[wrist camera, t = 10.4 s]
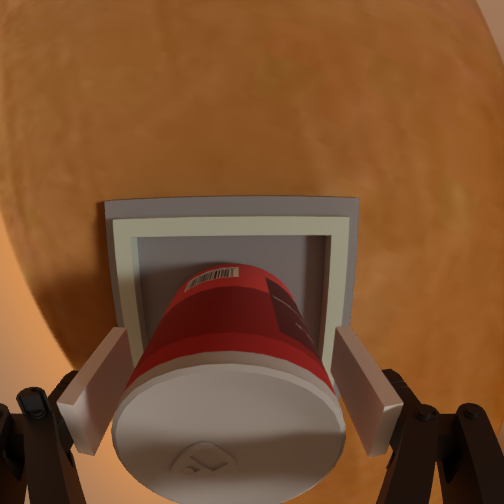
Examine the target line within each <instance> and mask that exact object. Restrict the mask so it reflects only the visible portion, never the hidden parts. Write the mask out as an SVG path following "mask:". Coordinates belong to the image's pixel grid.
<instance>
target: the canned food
mask: <svg viewBox="0 0 504 504" xmlns="http://www.w3.org/2000/svg"><path fill="white" fill-rule="evenodd" d="M111 433H112V441H113V446H114V449H115V451H116V454H117V456H118V458H119V460H120V461H121V463H122V464H123V466H124V467H125V468H126V470H127V471H128V472H129V473H130V474H131V475H132V476H133V477H134V478H135V479H136V480H137V481H138V482H139V483H141V484H142V485H144V486H145V487H147V488H148V489H150V490H151V491H152V492H154V493H156V494H158V495H160V496H162V497H164V498H166V499H168V500H171V501H174V502H177V503H180V504H280V503H282V502H285V501H288V500H290V499H293V498H295V497H297V496H299V495H301V494H302V493H304V492H306V491H308V490H309V489H311V488H312V487H314V486H315V485H316V484H317V483H319V482H320V481H321V480H322V479H324V478H325V477H326V476H327V474H328V473H329V472H330V471H331V470H332V469H333V468H334V466H335V465H336V463H337V461H338V459H339V458H340V456H341V454H342V452H343V448H344V444H345V440H346V432H345V422H344V420H343V412H342V410H341V407H340V405H339V402H338V400H337V397H336V394H335V391H334V389H333V386H332V384H331V381H330V379H329V377H328V374H327V372H326V370H325V368H324V365H323V363H322V361H321V359H320V356H319V354H318V352H317V350H316V347H315V345H314V343H313V341H312V338H311V336H310V334H309V332H308V329H307V327H306V325H305V323H304V321H303V318H302V316H301V314H300V312H299V310H298V307H297V305H296V303H295V301H294V299H293V296H292V294H291V293H290V292H289V290H288V289H287V287H286V286H285V285H284V284H283V283H282V282H281V281H280V280H279V279H278V278H277V277H275V276H274V275H272V274H271V273H269V272H267V271H265V270H264V269H261V268H258V267H255V266H252V265H246V264H238V263H235V264H222V265H218V266H214V267H210V268H207V269H205V270H203V271H201V272H199V273H197V274H195V275H194V276H193V277H191V278H190V279H189V280H187V281H186V282H185V283H184V284H183V285H182V286H181V287H180V289H179V290H178V291H177V292H176V294H175V296H174V298H173V299H172V301H171V303H170V305H169V306H168V308H167V310H166V312H165V314H164V315H163V317H162V319H161V321H160V323H159V324H158V326H157V328H156V330H155V332H154V334H153V335H152V337H151V339H150V341H149V343H148V345H147V347H146V349H145V350H144V352H143V354H142V356H141V358H140V360H139V362H138V364H137V365H136V367H135V369H134V371H133V373H132V375H131V377H130V379H129V381H128V383H127V385H126V387H125V390H124V392H123V394H122V396H121V398H120V400H119V402H118V404H117V408H116V413H115V415H114V418H113V424H112V429H111Z"/></svg>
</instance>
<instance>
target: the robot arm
mask: <svg viewBox="0 0 504 504" xmlns="http://www.w3.org/2000/svg"><path fill="white" fill-rule="evenodd" d="M133 371H134V366H133V361H132V355H131V350H130V344H129V339H128V333H127V328H122V327H113V328H112V330H111V331H110V332H109V333H108V335H107V336H106V337H105V338H104V340H103V341H102V342H101V343H100V345H99V346H98V347H97V349H96V350H95V351H94V352H93V354H92V355H91V356H90V358H89V359H88V360H87V362H86V363H85V364H84V365H83V367H82V368H81V369H80V371H75V370H73V371H71V372H70V373H68V374H66V375H65V376H64V377H63V379H62V380H61V381H60V383H59V384H58V385H57V386H56V388H55V389H54V390H53V391H52V393H51V394H50V395H49V396H48V398H47V396H46V393H45V391H44V390H43V389H41V388H39V387H29V388H25V389H24V390H22V391H20V393H19V394H18V395H17V397H16V400H17V402H18V404H19V406H20V409H21V411H22V413H23V414H10V412H9V409H8V407H7V406H6V405H4V404H1V403H0V504H24V501H25V494H26V487H27V484H28V491H29V499H30V504H86V501H85V497H84V494H83V491H82V488H81V484H80V481H79V477H78V473H77V470H76V465H75V461H74V458H73V454H72V453H71V450H70V449H71V447H72V445H73V443H74V445H75V447H76V449H77V451H78V452H79V453H84V454H88V455H92V456H94V455H95V453H96V451H97V449H98V447H99V445H100V442H101V440H102V438H103V436H104V434H105V432H106V430H107V427H108V425H109V423H110V421H111V419H112V417H113V415H114V413H115V411H116V408H117V404H118V402H119V400H120V398H121V396H122V394H123V392H124V390H125V387H126V385H127V383H128V381H129V379H130V377H131V375H132V373H133ZM330 372H331V374H332V376H333V378H334V381H335V383H336V385H337V387H338V390H339V392H340V394H341V396H342V399H343V401H344V403H345V405H346V408H347V410H348V412H349V414H350V417H351V419H352V421H353V423H354V426H355V428H356V430H357V432H358V435H359V437H360V439H361V442H362V444H363V446H364V448H365V451H366V453H367V455H368V457H373V456H378V455H382V454H386V452H387V449H388V447H389V444H390V446H391V447H392V449H393V453H392V456H391V458H390V460H389V463H388V465H387V467H386V469H387V472H386V475H385V478H384V481H383V484H382V488H381V490H380V493H379V496H378V499H377V502H376V504H429V499H430V494H431V488H432V482H433V476H434V469H435V462H436V461H437V466H438V472H439V478H440V484H441V491H442V497H443V504H504V456H503V453H502V450H501V448H500V445H499V443H498V440H497V438H496V435H495V433H494V431H493V428H492V426H491V424H490V421H489V419H488V417H487V414H486V412H485V411H484V409H483V408H482V407H480V406H479V405H477V404H473V403H465V404H462V405H461V406H459V408H458V409H457V412H456V414H439V412H438V411H437V410H436V408H434V407H432V406H430V405H426V404H421V403H420V401H419V400H418V399H417V397H416V396H415V395H414V393H413V392H412V391H411V389H410V388H409V387H408V385H407V384H406V383H405V382H404V380H403V379H402V377H401V376H400V375H399V374H398V373H396V372H395V371H393V370H392V369H385V370H381V369H380V368H379V367H378V365H377V364H376V362H375V361H374V359H373V358H372V357H371V355H370V354H369V352H368V351H367V349H366V348H365V347H364V345H363V344H362V342H361V341H360V340H359V338H358V337H357V335H356V334H355V333H354V331H353V330H352V328H351V327H350V326H338V327H335V337H334V345H333V353H332V361H331V369H330Z"/></svg>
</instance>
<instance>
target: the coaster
mask: <svg viewBox="0 0 504 504" xmlns="http://www.w3.org/2000/svg"><path fill="white" fill-rule="evenodd" d="M104 202H105V221H106V235H107V247H108V258H109V268H110V277H111V285H112V292H113V300H114V307H115V313H116V319H117V325H118V327H122V328H127V333H128V339H129V344H130V350H131V355H132V361H133V366H134V369H135V367H136V365H137V364H138V362H139V360H140V358H141V356H142V354H143V352H144V350H145V349H146V347H147V345H148V343H149V341H150V339H151V337H152V335H153V334H154V332H155V330H156V328H157V326H158V324H159V323H160V321H161V319H162V317H163V315H164V314H165V312H166V310H167V308H168V306H169V305H170V303H171V301H172V299H173V298H174V296H175V294H176V292H177V291H178V290H179V289H180V287H181V286H182V285H183V284H184V283H185V282H186V281H187V280H189V279H190V278H191V277H193V276H194V275H195V274H197V273H199V272H201V271H203V270H205V269H207V268H210V267H214V266H218V265H222V264H235V263H238V264H246V265H252V266H255V267H258V268H261V269H264V270H265V271H267V272H269V273H271V274H272V275H274V276H275V277H277V278H278V279H279V280H280V281H281V282H282V283H283V284H284V285H285V286H286V287H287V289H288V290H289V292H290V293H291V294H292V296H293V299H294V301H295V303H296V305H297V307H298V310H299V312H300V314H301V316H302V318H303V321H304V323H305V325H306V327H307V329H308V332H309V334H310V336H311V338H312V341H313V343H314V345H315V347H316V350H317V352H318V354H319V356H320V359H321V361H322V363H323V365H324V368H325V370H326V372H327V374H328V377H329V379H330V381H331V384H332V386H333V389H334V391H335V394H336V397H337V400H339V394H340V392H339V390H338V387H337V385H336V383H335V381H334V378H333V376H332V374H331V372H330V369H331V361H332V353H333V345H334V337H335V327H338V326H350V319H351V310H352V301H353V291H354V280H355V268H356V255H357V239H358V219H359V198H355V197H332V196H275V195H246V196H189V197H160V198H138V199H120V200H108V201H104Z"/></svg>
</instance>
